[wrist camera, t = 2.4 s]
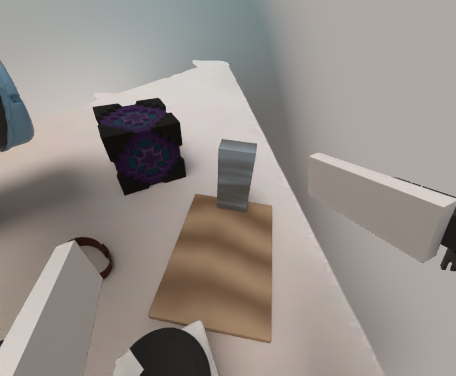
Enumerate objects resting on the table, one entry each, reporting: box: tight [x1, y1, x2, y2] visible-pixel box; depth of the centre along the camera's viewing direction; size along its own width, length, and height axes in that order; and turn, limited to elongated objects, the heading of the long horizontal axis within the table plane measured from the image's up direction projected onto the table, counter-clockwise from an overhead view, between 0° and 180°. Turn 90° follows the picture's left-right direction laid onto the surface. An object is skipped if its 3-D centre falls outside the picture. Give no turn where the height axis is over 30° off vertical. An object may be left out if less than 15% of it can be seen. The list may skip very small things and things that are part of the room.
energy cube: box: [93, 98, 186, 195], centre depth 40 cm, size 12×12×12 cm
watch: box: [68, 237, 112, 279], centre depth 28 cm, size 8×5×4 cm, turn 55°
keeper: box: [148, 139, 272, 343], centre depth 26 cm, size 20×14×13 cm
